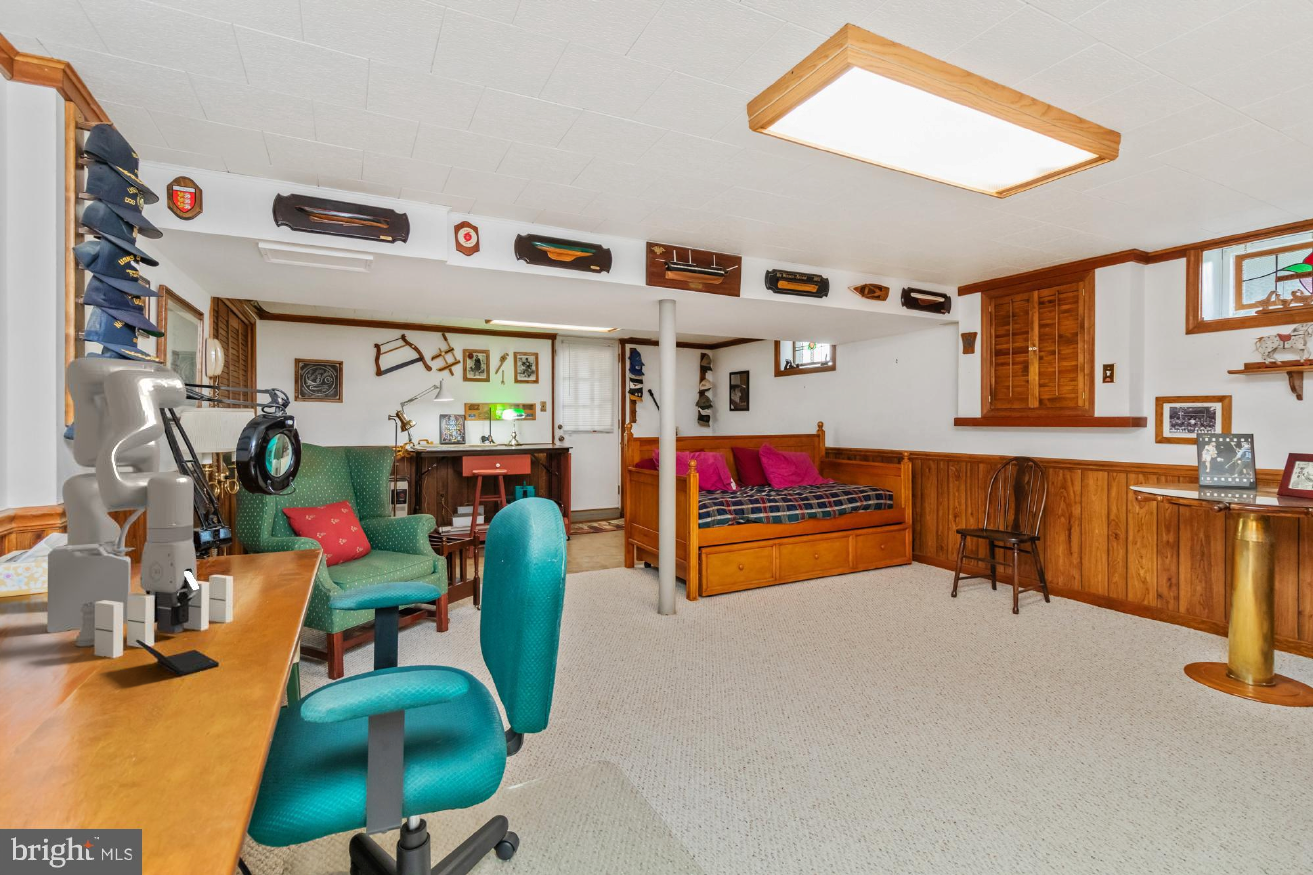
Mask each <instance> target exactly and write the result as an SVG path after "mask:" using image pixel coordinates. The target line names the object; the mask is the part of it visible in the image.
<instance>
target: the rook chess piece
mask: <svg viewBox="0 0 1313 875" xmlns="http://www.w3.org/2000/svg"><path fill="white" fill-rule="evenodd" d="M80 611H81V612H82V613H83V616H82V617H81V618H82V619H83V624H82V629H80V631H79V633H78V635H77V636H76V638H75V639H76V641H77V642H75V645H76V646H77V647H78V646H79V648H88V647H87V646H89V647H95V646H94V645H95V604H93V602H89V605H87V603H85V604H83V607H82V608H81V609H80Z"/></svg>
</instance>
